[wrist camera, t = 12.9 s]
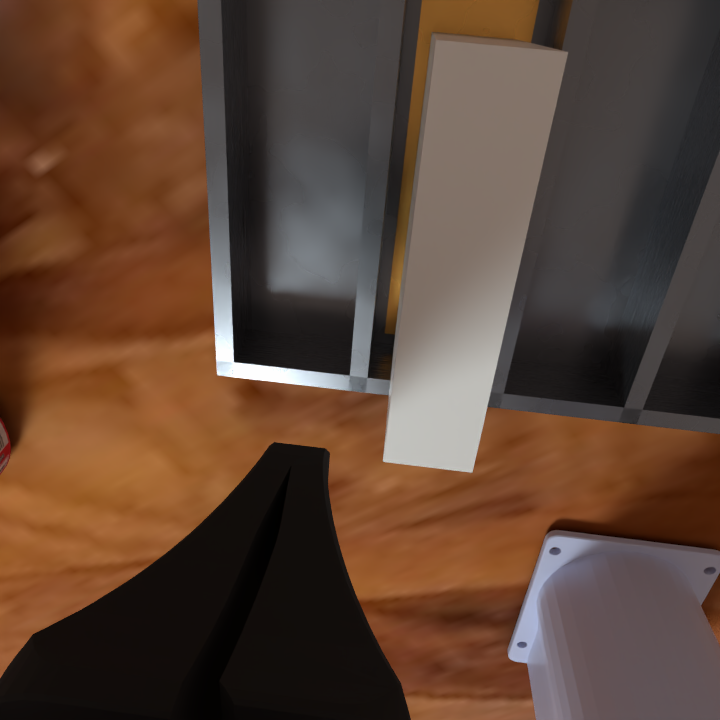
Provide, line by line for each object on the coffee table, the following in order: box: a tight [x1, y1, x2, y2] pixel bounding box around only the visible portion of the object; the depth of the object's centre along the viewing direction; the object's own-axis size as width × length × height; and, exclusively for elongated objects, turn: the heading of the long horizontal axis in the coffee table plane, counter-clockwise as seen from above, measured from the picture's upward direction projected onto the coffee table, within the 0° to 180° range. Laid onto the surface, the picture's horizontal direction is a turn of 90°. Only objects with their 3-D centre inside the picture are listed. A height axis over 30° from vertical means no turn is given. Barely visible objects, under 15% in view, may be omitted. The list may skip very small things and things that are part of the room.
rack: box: [198, 0, 720, 434], centre depth 18 cm, size 13×19×4 cm
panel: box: [383, 32, 568, 472], centre depth 16 cm, size 10×2×7 cm, turn 176°
